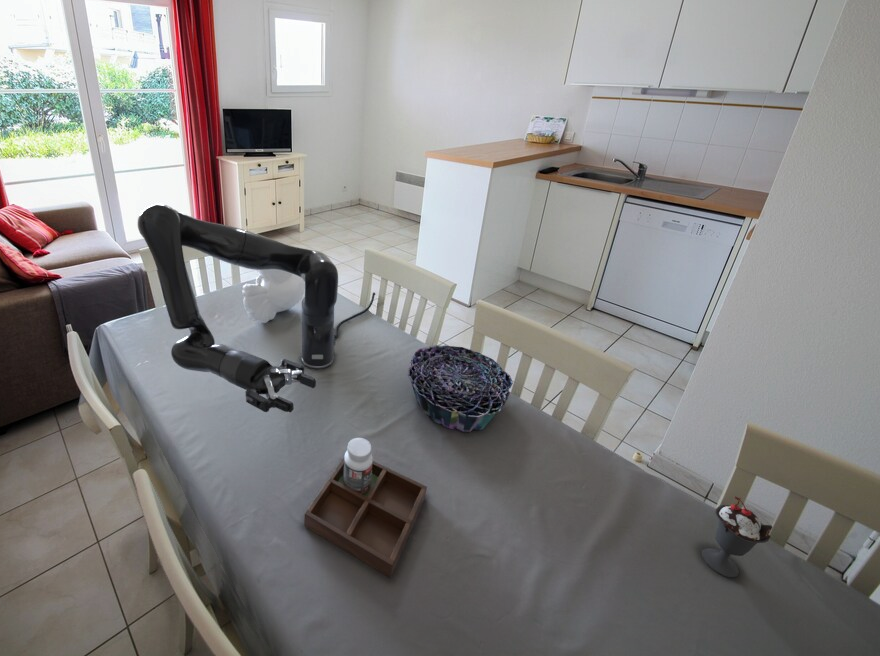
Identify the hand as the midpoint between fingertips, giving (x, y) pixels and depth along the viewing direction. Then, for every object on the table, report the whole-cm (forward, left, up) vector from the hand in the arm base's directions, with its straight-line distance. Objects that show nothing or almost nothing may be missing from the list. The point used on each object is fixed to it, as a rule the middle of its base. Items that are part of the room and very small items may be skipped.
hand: (304, 395), depth 90 cm
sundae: (-18, +75, -16) cm, 79 cm away
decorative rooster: (-45, -45, -16) cm, 65 cm away
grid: (+6, +18, -16) cm, 25 cm away
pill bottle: (+2, +14, -15) cm, 21 cm away
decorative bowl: (-34, +24, -16) cm, 45 cm away
